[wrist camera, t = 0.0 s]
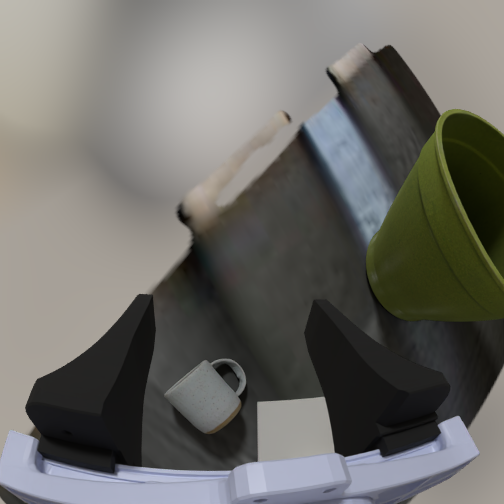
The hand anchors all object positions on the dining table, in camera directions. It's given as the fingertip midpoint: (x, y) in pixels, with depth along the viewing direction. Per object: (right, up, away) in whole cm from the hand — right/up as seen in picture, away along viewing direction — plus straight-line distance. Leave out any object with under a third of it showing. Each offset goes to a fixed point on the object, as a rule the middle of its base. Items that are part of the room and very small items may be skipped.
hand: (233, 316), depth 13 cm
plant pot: (+30, -1, +41) cm, 50 cm away
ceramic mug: (-5, -17, +28) cm, 33 cm away
